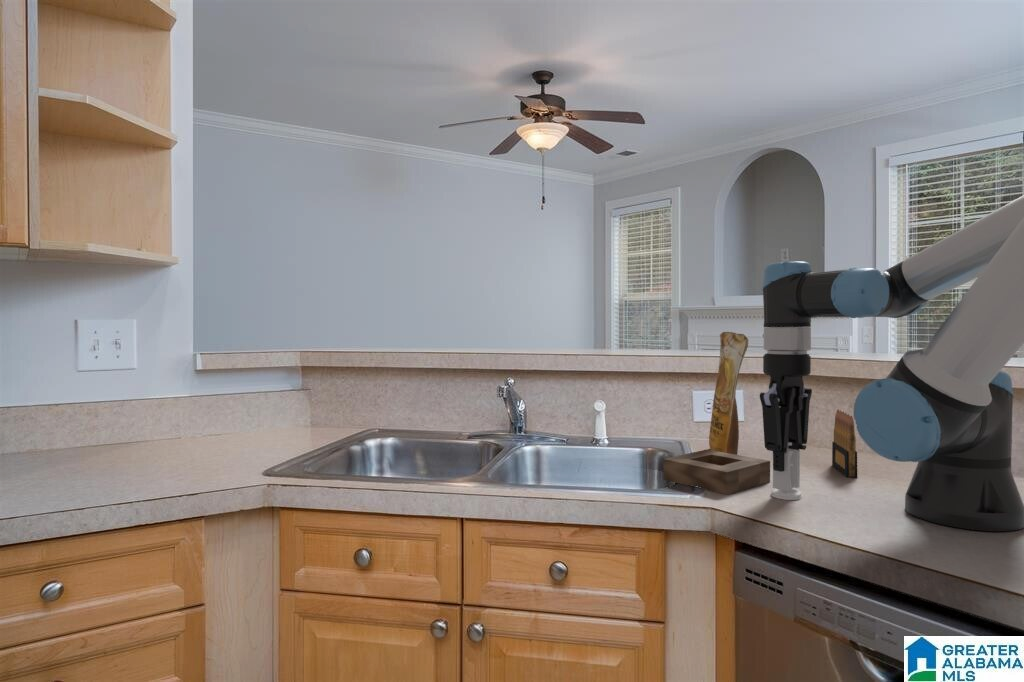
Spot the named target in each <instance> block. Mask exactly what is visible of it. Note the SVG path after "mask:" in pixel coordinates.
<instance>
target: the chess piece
mask: <svg viewBox="0 0 1024 682" xmlns="http://www.w3.org/2000/svg"><path fill="white" fill-rule="evenodd" d="M788 445H792V443H791V442H788ZM787 452H789V453H790V458H791V455H792V453H793V451H792V450H791V449H788V447H787ZM790 466H793V463H791V462H790ZM794 488H795V487H792V485H791V479H790V491H785V490H780V489H775V488H772V490H770V491H771V493H770V495H771V497H773V498H775V499H779V500H785V501H798V500H801V499H802V498H803V496H802V492H801V491H799V490H797V489H796V488H795V489H794Z"/></svg>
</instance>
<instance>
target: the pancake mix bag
mask: <svg viewBox="0 0 1024 682" xmlns="http://www.w3.org/2000/svg"><path fill="white" fill-rule="evenodd" d="M719 337H720V338H719V339H720V348H719V349H720V350H719V363H718V372H717V377H716V378H717V379H716V383H715V388H714V395H713V400H712V401H713V402H712V409H711V411H712V412H711V417H710V419H711V420H710V425H709V433H708V434H709V435H708V436H709V437H708V445H709V450H713V451H718V452H724V453H729V454H735V455H738V451H739V439H740V438H739V437H740V431H739V430H740V429H739V428H740V427H739V426H740V425H739V415H738V404H737V399H736V392H737V391H736V389H737V384H738V379H739V374H740V369H741V366H742V363H743V360H744V358H745V354H746V352H747V349H748V348H749V338H748V337H747V336H746V335H745V334H743V333H736V332H733V331H723V332H721V333H720V334H719Z"/></svg>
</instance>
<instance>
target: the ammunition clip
mask: <svg viewBox="0 0 1024 682" xmlns="http://www.w3.org/2000/svg"><path fill="white" fill-rule="evenodd" d="M854 420H855V419H854V416H853V415H850V414H849V413H846V412H844V411H842V410H840V409H837V410H836V412H835V415H834V427H833V441H832V442H831V443H832V446H831V448H832V449H831V453H832V454H831V456H832V457H831V466H832V467H833V468H834V469H836V470H837V471H838V472H839V473H841V474H842V475H843V476H844V477H846V478H849V479H858V451H857V449H856V447H857V443H856V441H857V440H856V433H855V422H854Z"/></svg>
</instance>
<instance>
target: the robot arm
mask: <svg viewBox="0 0 1024 682" xmlns="http://www.w3.org/2000/svg"><path fill="white" fill-rule="evenodd" d="M763 272H764V275H763V283H762V284H763V285H762V288H761V289H762V299H763V302H762V303H763V333H762V337H763V350H764V351H766V352H767V353H764V355H763V356H762V359H763V360H762V362H763V363H762V369H763V370H762V371H763V373H764V375H766V376H769V378H770V379H769V385H768V391H767V392H760V393H759V399H760V404H761V407H762V409H761V410H762V423H763V424H762V425H763V441H764V448H765V450H767V451H771V452H772V489H780V490H785V491H790V479H791V485H792V487H794V488H795V489H798V488H800V485H801V484H800V481H801V480H800V475H801V474H800V470H801V469H800V467H801V466H800V465H801V464H800V461H801V460H800V457H801V456H800V450H804V451H805V450H806V449H807V445H806V444H808V435H809V433H808V432H809V417H810V416H809V415H810V402H811V397H812V394H813V390H812V388H810V387H809V388H807V387H805V383H804V380H803V377H807V376H810V374H811V373H812V372H811V371H812V370H811V369H812V368H811V367H812V366H811V365H812V363H811V362H812V361H811V360H812V359H811V358H812V356H811V355H810V354H809V353H808V352H809V351H811V349H812V334H811V333H812V330H811V329H812V327H811V326H812V325H811V323H812V318H814V319H815V318H851V319H856V318H857V319H859V318H860V319H863V318H873V317H874V318H889V319H890V318H891V319H898V318H903V317H907V316H911V315H914V314H917V313H918V312H919V311H920V310H922V308H923V307H924V306H925V305H926V303H927V302H928V301H930V300H932V299H935V298H937V297H939V296H941V295H943V294H945V293H947V292H949V291H952V290H955V289H956V288H958V287H960V286H962V285H965V284H968V283H969V282H971V281H973V280H975V281H974V282H973V283H972V284H971V286H970V287H969V289H968V290H967V291H966V292H965V294H964V295H963V297H962V298H961V299H960V300H959V301H958V302H957V304H956V305H955V307H954V308H953V309H952V311H951V312H950V313H949V315H948V316H947V317H946V318H945V320H944V321H943V323H942V324H941V325H940V326H939V328H937V330H936V331H935V333H934V334H933V336H932V337H931V338H930V340H929V341H928V342H927V343H926V345H925V346H924V347H923V348H922V349H914V350H909V351H906V352H904V354H903V355H902V356H901V358H900V359H899V360H898V361H897V362H896V365H894V367H893V368H892V370H891V371H890V372H889V374H888V375H887V376H886V377H885V378H884V377H883V378H880V379H879V378H877V379H876V380H873V381H872V382H870V383H868V384H866V386H864V387H863V388H862V389H861V390H860V392H858V395H857V396H856V399H855V400H854V404H853V420H855V425H856V431H857V432H858V434H859V436H860V438H861V439H862V440H863V442H864V443H865V445H867V447H869V449H871V450H872V451H873V452H874V453H876V454H877V455H879V456H880V457H883V458H885V459H887V460H890V461H895V462H901V463H905V462H911V463H917V465H916V467H915V470H914V472H913V474H912V476H911V477H912V478H911V480H910V482H909V484H908V486H907V489H906V492H905V497H904V509H905V511H906V512H907V513H909V514H910V515H912V516H914V517H916V518H919V519H921V520H924V521H927V522H931V523H934V524H939V525H943V526H948V527H953V528H959V529H964V530H965V529H966V530H973V531H983V532H1011V531H1019V530H1021V529H1023V528H1024V502H1023V500H1022V497H1021V494H1020V491H1019V489H1018V486H1017V484H1016V481H1015V478H1014V475H1013V472H1012V447H1013V446H1012V444H1013V442H1012V441H1013V409H1014V408H1013V402H1014V398H1015V393H1014V391H1013V384H1012V377H1011V376H1010V374H1009V373H1008V372H1006V371H1003V368H1004V367H1005V366H1006V365H1007V363H1008V362H1009V361H1010V360H1011V359H1012V358H1013V357H1014V356H1015V354H1016V353H1017V352H1018V351H1019V350H1020V348H1021V347H1022V346H1023V345H1024V194H1023V195H1022V196H1021V195H1020V196H1019V197H1018V198H1016V199H1014V200H1012V201H1009V202H1008V203H1007V204H1005V205H1003V206H1001V207H999V208H997V209H995V210H994V211H992V212H990V213H988V214H986V215H984V216H983V217H981V218H979V219H977V220H976V221H974V222H972V223H970V224H968V225H966V226H964V227H963V228H960V229H958V230H957V231H955V232H953V233H951V234H950V235H947V236H946V237H944V238H942V239H941V240H939V241H937V242H935V243H933V244H931V245H930V246H928V247H926V248H923V249H922V250H920V251H919V252H916V253H915V254H913V255H911V256H909V257H907V258H906V259H904V260H903V261H900V262H899V263H897V264H894V265H893V266H892V267H889V268H887V269H885V270H883V271H880V270H879V269H877V268H872V267H859V268H858V267H850V268H848V269H847V268H846V269H837V270H828V271H812V266H811V264H810V263H809V262H807V261H784V262H781V261H780V262H779V261H778V262H773V263H769V264H768V265H766V267H765V268H764V271H763ZM788 442H791V443H792V445H788ZM787 447H788V449H791V450H792V451H793V453H792V455H791V458H790V453H789V452H787ZM790 462H791V463H793V466H790Z"/></svg>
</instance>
